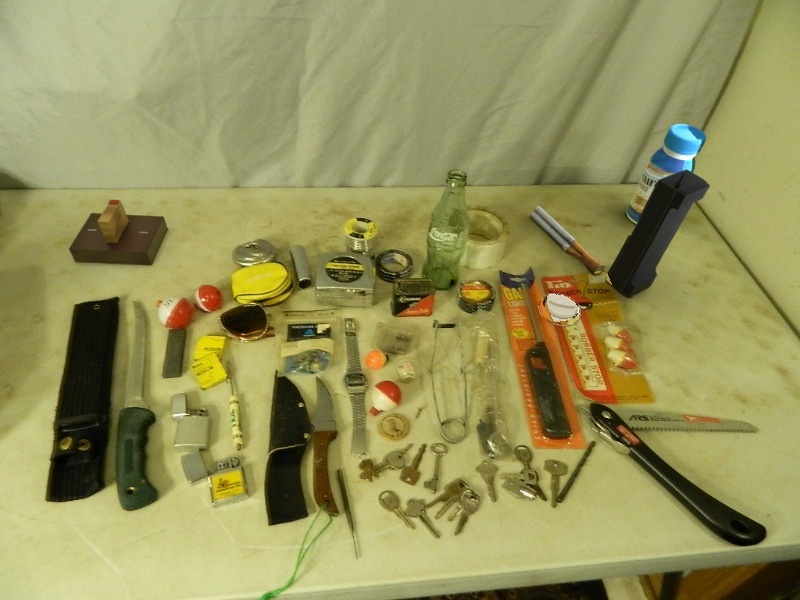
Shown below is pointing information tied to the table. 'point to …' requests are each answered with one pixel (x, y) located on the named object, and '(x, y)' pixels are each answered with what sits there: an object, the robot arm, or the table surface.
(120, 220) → the light wood flat block
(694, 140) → the beverage bottle
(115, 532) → the table surface
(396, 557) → the table surface
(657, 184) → the black long block
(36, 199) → the table surface
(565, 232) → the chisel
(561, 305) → the stove knob
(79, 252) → the dark brown flat block
